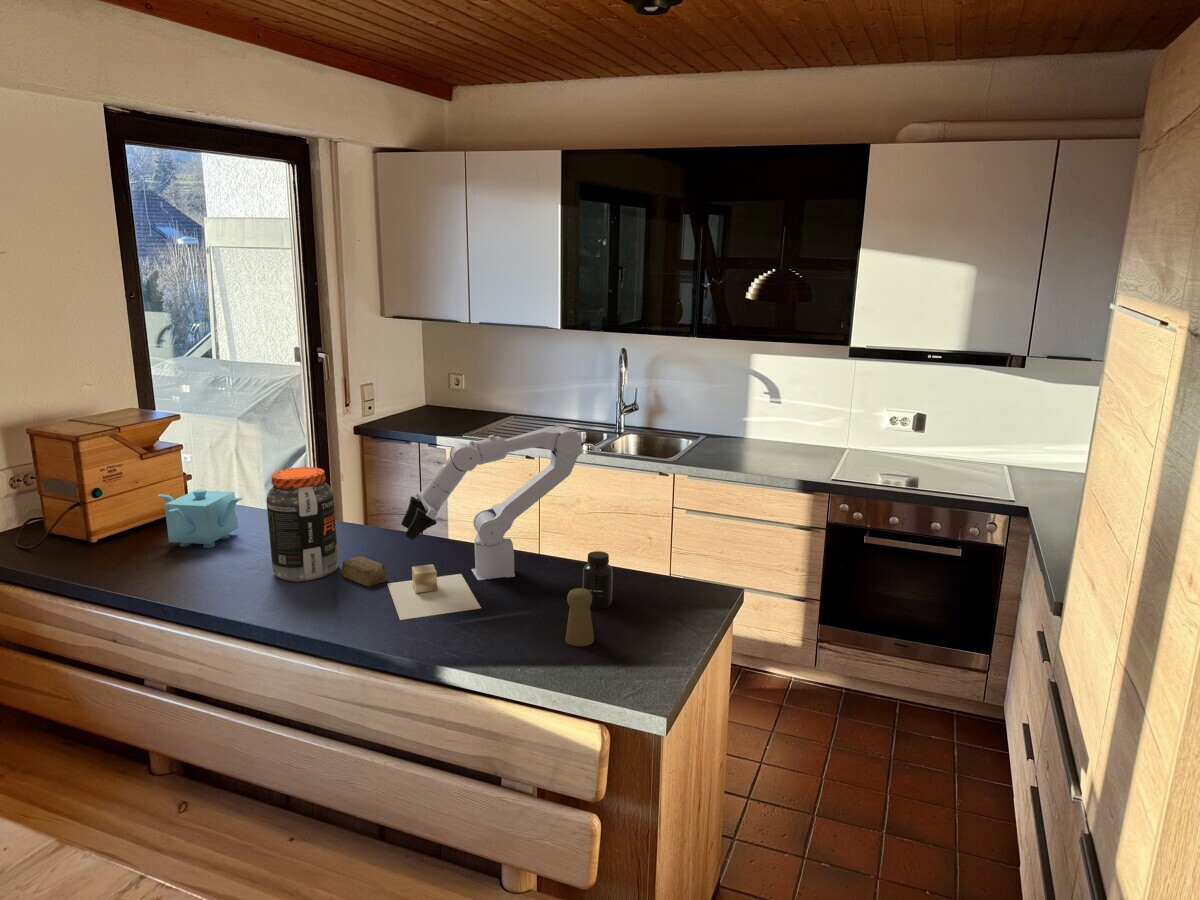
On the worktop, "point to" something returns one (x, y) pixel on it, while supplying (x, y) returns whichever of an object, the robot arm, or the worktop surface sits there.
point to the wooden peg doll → (579, 618)
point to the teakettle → (201, 517)
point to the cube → (424, 579)
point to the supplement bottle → (598, 579)
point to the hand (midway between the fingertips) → (406, 531)
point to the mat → (433, 598)
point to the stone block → (364, 571)
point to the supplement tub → (302, 524)
